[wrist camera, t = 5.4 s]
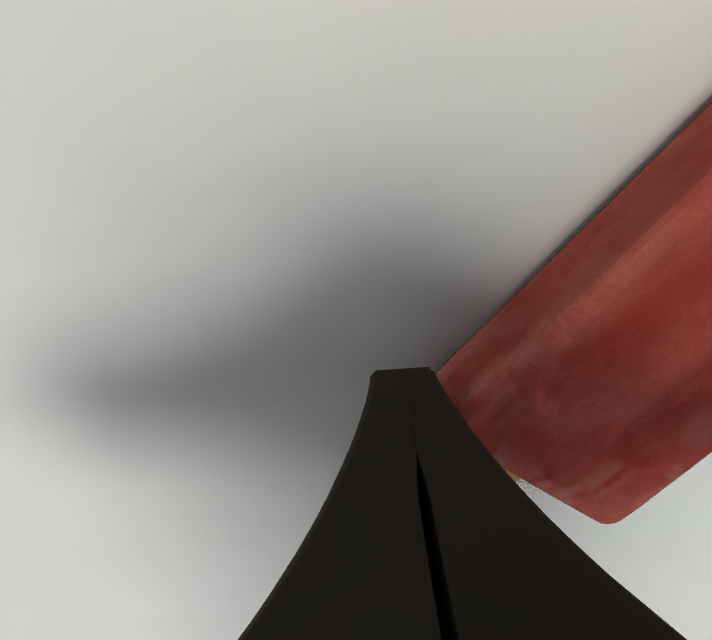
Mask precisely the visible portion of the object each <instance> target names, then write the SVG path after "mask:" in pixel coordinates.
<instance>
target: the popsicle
mask: <svg viewBox="0 0 712 640" xmlns="http://www.w3.org/2000/svg"><path fill="white" fill-rule="evenodd" d="M436 376H437V378H438V380H439V382H440V383H441V385H442V387H443V388H444V390H445V392H446V393H447V395H448V396H449V398H450V399H451V401H452V402H453V404H454V405H455V407H456V408H457V410H458V411H459V413H460V414H461V415H462V417H463V418H464V420H465V421H466V422H467V424H468V425H469V426H470V428H471V429H472V430H473V432H474V433H475V434H476V435H477V437H478V438H479V439H480V441H481V442H482V443H483V444H484V446H485V447H486V448H487V450H488V451H489V452H490V453H491V454H492V456H493V457H494V458H495V459H496V460H497V462H498V463H499V464H500V465H501V466H502V468H503V469H504V470H505V471H506V472H507V473H508V474H509V476H510V477H511V478H512V479H513V480H514V481H515V482H516V481H518V480H519V479H520V478H522V479H523V480H525V481H527V482H529V483H530V484H532V485H534V486H536V487H537V488H539V489H541V490H543V491H544V492H546V493H548V494H550V495H551V496H553V497H555V498H557V499H558V500H560V501H562V502H564V503H565V504H567V505H569V506H571V507H572V508H574V509H576V510H578V511H580V512H581V513H583V514H585V515H587V516H589V517H590V518H592V519H594V520H596V521H598V522H600V523H602V524H612V523H616V522H618V521H620V520H622V519H623V518H625V517H626V516H628V515H629V514H631V513H632V512H633V511H635V510H636V509H638V508H639V507H641V506H642V505H643V504H644V503H646V502H647V501H648V500H650V499H651V498H652V497H653V496H655V495H656V494H657V493H659V492H660V491H661V490H662V489H664V488H665V487H666V486H668V485H669V484H670V483H672V482H673V481H674V480H676V479H677V478H678V477H680V476H681V475H682V474H684V473H685V472H686V471H688V470H689V469H690V468H691V467H693V466H694V465H695V464H697V463H698V462H699V461H700V460H702V459H703V458H704V457H706V456H707V455H708V454H710V453H711V452H712V103H711V104H710V105H709V106H708V107H707V108H706V109H705V110H704V111H703V112H702V113H701V114H700V115H699V116H698V117H697V118H696V119H695V120H694V121H693V122H692V123H691V124H690V125H689V126H688V127H687V128H686V129H685V130H684V131H683V132H681V133H680V134H679V135H678V136H677V137H676V138H675V139H674V140H673V141H672V142H671V143H670V144H669V145H668V146H667V147H666V148H665V149H664V150H663V151H662V152H661V153H660V154H659V155H658V156H657V157H656V158H655V159H654V160H653V161H652V162H651V163H650V164H649V165H648V166H647V167H646V168H645V169H644V170H643V171H642V172H641V173H640V174H639V175H638V176H637V177H636V178H635V179H634V180H633V181H632V182H631V183H629V184H628V185H627V186H626V187H625V188H624V189H623V190H622V191H621V192H620V193H619V194H618V195H617V196H616V197H615V198H614V199H613V200H612V201H611V202H610V203H609V204H608V205H607V206H606V207H605V208H604V209H603V210H602V211H601V212H600V213H599V214H598V215H597V216H596V217H595V218H594V219H593V220H592V221H591V222H590V223H589V224H588V225H587V226H586V227H585V228H584V229H583V230H582V231H581V232H580V233H579V234H578V235H577V236H576V237H575V238H574V239H573V240H572V241H570V242H569V243H568V244H567V245H566V246H565V247H564V248H563V249H562V250H561V251H560V252H559V253H558V254H557V255H556V256H555V257H554V258H553V259H552V260H551V261H550V262H549V263H548V264H547V265H546V266H545V267H544V268H543V269H542V270H541V271H540V272H539V273H538V274H537V275H536V276H535V277H534V278H533V279H532V280H531V281H530V282H529V283H528V284H527V285H526V286H525V287H524V288H523V289H522V290H521V291H520V292H519V293H518V294H517V295H516V296H515V297H514V298H513V299H512V300H511V301H510V302H508V303H507V304H506V305H505V306H504V307H503V308H502V309H501V310H500V311H499V312H498V313H497V314H496V315H495V316H494V317H493V318H492V319H491V320H490V321H489V322H488V323H487V324H486V325H485V326H484V327H483V328H482V329H481V330H480V331H479V332H478V333H477V334H476V335H475V336H474V337H473V338H471V339H470V340H469V341H468V342H467V343H466V344H465V345H464V346H463V347H462V348H461V349H460V350H459V351H458V352H457V353H456V354H455V355H454V356H453V357H452V358H451V359H450V360H449V361H448V362H447V363H446V364H445V365H444V366H443V367H442V368H441V369H440V371H439V372H438V373H437V374H436Z"/></svg>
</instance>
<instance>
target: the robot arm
mask: <svg viewBox="0 0 712 640" xmlns="http://www.w3.org/2000/svg"><path fill="white" fill-rule="evenodd" d="M238 640H687V639H685V638H684V637H683V636H682V635H681V634H679V633H678V632H677V631H676V630H675V629H673V628H672V627H671V626H670V625H669V624H667V623H666V622H665V621H664V620H663V619H661V618H660V617H659V616H658V615H657V614H655V613H654V612H653V611H652V610H651V609H649V608H648V607H647V606H646V605H645V604H643V603H642V602H641V601H640V600H639V599H637V598H636V597H635V596H634V595H633V594H631V593H630V592H629V591H628V590H627V589H625V588H624V587H623V586H622V585H621V584H619V583H618V582H617V581H616V580H615V579H613V578H612V577H611V576H610V575H609V574H608V573H607V572H605V571H604V570H603V569H602V568H601V567H600V566H599V565H598V564H597V563H596V562H595V561H593V560H592V559H591V558H590V557H589V556H588V555H587V554H586V553H585V552H584V551H583V550H582V549H580V548H579V547H578V546H577V545H576V544H575V543H574V542H573V541H572V540H571V539H570V538H569V537H568V536H567V535H566V534H565V533H564V532H563V531H562V530H561V529H560V528H559V527H558V526H556V525H555V524H554V523H553V522H552V521H551V520H550V519H549V518H548V517H547V516H546V515H545V514H544V513H543V512H542V510H541V509H540V508H539V507H538V506H537V505H536V504H535V503H534V502H533V501H532V500H531V499H530V498H529V497H528V496H527V495H526V494H525V492H524V491H523V490H522V489H521V488H520V487H519V486H518V485H517V484H516V482H515V481H514V480H513V479H512V478H511V477H510V476H509V474H508V473H507V472H506V471H505V470H504V469H503V468H502V466H501V465H500V464H499V463H498V462H497V460H496V459H495V458H494V457H493V456H492V454H491V453H490V452H489V451H488V450H487V448H486V447H485V446H484V444H483V443H482V442H481V441H480V439H479V438H478V437H477V435H476V434H475V433H474V432H473V430H472V429H471V428H470V426H469V425H468V424H467V422H466V421H465V420H464V418H463V417H462V415H461V414H460V413H459V411H458V410H457V408H456V407H455V405H454V404H453V402H452V401H451V399H450V398H449V396H448V395H447V393H446V392H445V390H444V388H443V387H442V385H441V383H440V382H439V380H438V378H437V376H436V374H435V372H434V371H433V370H431V369H430V368H429V367H421V368H406V369H391V370H376V371H375V372H374V373H373V374H372V375H371V376H370V384H369V390H368V395H367V399H366V402H365V406H364V409H363V412H362V416H361V419H360V422H359V425H358V427H357V430H356V432H355V435H354V438H353V440H352V443H351V446H350V448H349V451H348V453H347V456H346V458H345V460H344V463H343V465H342V467H341V469H340V471H339V473H338V475H337V477H336V480H335V482H334V484H333V486H332V488H331V490H330V492H329V495H328V497H327V499H326V501H325V502H324V504H323V506H322V508H321V510H320V512H319V514H318V516H317V518H316V519H315V521H314V523H313V525H312V527H311V528H310V530H309V532H308V534H307V535H306V537H305V539H304V540H303V542H302V544H301V546H300V547H299V549H298V551H297V552H296V554H295V556H294V557H293V559H292V560H291V562H290V564H289V565H288V567H287V568H286V570H285V571H284V573H283V575H282V576H281V578H280V579H279V581H278V582H277V584H276V585H275V587H274V589H273V590H272V592H271V593H270V595H269V596H268V598H267V599H266V601H265V602H264V604H263V605H262V607H261V608H260V610H259V611H258V612H257V614H256V615H255V617H254V618H253V620H252V621H251V622H250V624H249V625H248V627H247V628H246V629H245V631H244V632H243V633H242V635H241V636H240V637H239V639H238Z"/></svg>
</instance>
